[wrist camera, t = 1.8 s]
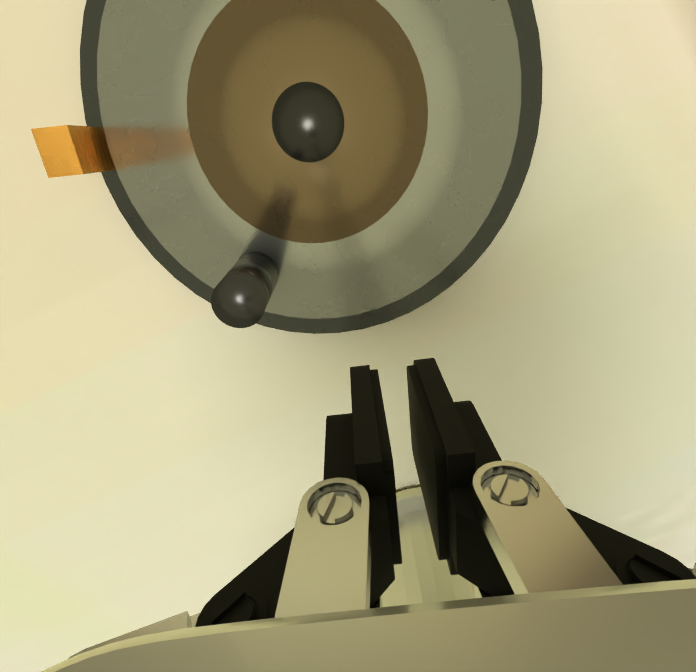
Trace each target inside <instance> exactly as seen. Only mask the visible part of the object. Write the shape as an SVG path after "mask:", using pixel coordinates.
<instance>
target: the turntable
mask: <svg viewBox="0 0 696 672" xmlns="http://www.w3.org/2000/svg"><path fill="white" fill-rule="evenodd" d="M97 89H98V97H99V105H100V113H101V120H102V124H103V128H104V132H105V136H106V141H107V145H108V149H109V151H110V154H111V157H112V160H113V162H114V165H115V168H116V171H117V173H118V176H119V178H120V180H121V182H122V184H123V186H124V188H125V190H126V192H127V195H128V197H129V199H130V201H131V203H132V204H133V206H134V207H135V209H136V210H137V212H138V214H139V215H140V217H141V218H142V220H143V221H144V223H145V224H146V226H147V227H148V229H149V230H150V231H151V232H152V233H153V235H154V236H155V237H156V238H157V240H158V241H159V242H160V243H161V245H162V246H163V247H164V248H165V249H166V250H167V251H168V252H169V253H170V254H171V255H172V256H173V257H174V258H175V259H176V260H177V261H178V262H179V263H180V264H181V265H182V266H183V267H185V268H186V269H187V270H188V271H190V272H191V273H192V274H193V275H195V276H196V277H197V278H198V279H200V280H201V281H202V282H204V283H205V284H207V285H209V286H210V287H212V288H214V290H213V292H212V296H211V305H212V309H213V311H214V313H215V315H216V316H217V317H218V318H219V319H220V320H221V321H222V322H223V323H225V324H227V325H229V326H232V327H236V328H246V327H250V326H252V325H254V324H255V323H257V322H258V321H259V320H260V319H261V317H262V316H263V314H264V311H265V312H269V313H274V314H278V315H283V316H288V317H297V318H309V319H320V318H338V317H344V316H350V315H357V314H361V313H364V312H367V311H371V310H374V309H378V308H381V307H383V306H385V305H388V304H390V303H392V302H395V301H397V300H400V299H402V298H403V297H405V296H407V295H409V294H410V293H412V292H414V291H415V290H417V289H419V288H421V287H422V286H423V285H425V284H426V283H427V282H429V281H430V280H431V279H433V278H434V277H435V276H437V275H438V274H439V273H441V272H442V271H443V270H444V269H445V268H446V267H447V266H448V265H449V264H450V263H451V262H452V261H453V260H454V259H455V258H456V257H457V256H458V255H459V254H460V253H461V252H462V251H463V249H464V248H465V247H466V246H467V245H468V243H469V242H470V241H471V240H472V238H473V237H474V236H475V235H476V233H477V231H478V230H479V228H480V227H481V225H482V224H483V222H484V221H485V219H486V218H487V216H488V214H489V213H490V211H491V209H492V207H493V205H494V203H495V201H496V199H497V197H498V194H499V192H500V190H501V188H502V185H503V183H504V180H505V177H506V174H507V171H508V169H509V166H510V163H511V159H512V155H513V151H514V147H515V142H516V138H517V134H518V125H519V117H520V108H521V66H520V57H519V49H518V40H517V36H516V31H515V27H514V23H513V19H512V15H511V11H510V7H509V4H508V1H507V0H106V3H105V7H104V11H103V15H102V19H101V26H100V34H99V43H98V51H97Z"/></svg>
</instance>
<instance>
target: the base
mask: <svg viewBox="0 0 696 672" xmlns="http://www.w3.org/2000/svg"><path fill="white" fill-rule="evenodd" d="M507 1H508V4H509V7H510V11H511V15H512V19H513V23H514V27H515V31H516V36H517V40H518V49H519V57H520V66H521V108H520V117H519V125H518V134H517V138H516V142H515V147H514V151H513V155H512V159H511V163H510V166H509V169H508V171H507V174H506V177H505V180H504V183H503V185H502V188H501V190H500V192H499V194H498V197H497V199H496V201H495V203H494V205H493V207H492V209H491V211H490V213H489V214H488V216H487V218H486V219H485V221H484V222H483V224H482V225H481V227H480V228H479V230H478V231H477V233H476V235H475V236H474V237H473V238H472V240H471V241H470V242H469V243H468V245H467V246H466V247H465V248H464V249H463V251H462V252H461V253H460V254H459V255H458V256H457V257H456V258H455V259H454V260H453V261H452V262H451V263H450V264H449V265H448V266H447V267H446V268H445V269H444V270H443V271H442V272H441V273H439V274H438V275H437V276H435V277H434V278H433V279H431V280H430V281H429V282H427V283H426V284H425V285H423V286H422V287H421V288H419V289H417V290H415V291H414V292H412V293H410V294H409V295H407V296H405V297H403V298H402V299H400V300H397V301H395V302H392V303H390V304H388V305H385V306H383V307H381V308H378V309H374V310H371V311H367V312H364V313H361V314H357V315H350V316H344V317H338V318H320V319H309V318H297V317H288V316H283V315H278V314H274V313H269V312H265V311H264V314H263V316H262V317H261V319H260V320H259V321H258V322H257V324H260V325H263V326H266V327H271V328H275V329H280V330H285V331H290V332H302V333H314V334H315V333H340V332H346V331H352V330H359V329H364V328H368V327H371V326H375V325H378V324H382V323H385V322H388V321H390V320H393V319H395V318H397V317H400V316H402V315H405V314H407V313H409V312H411V311H413V310H415V309H416V308H418V307H420V306H422V305H423V304H425V303H427V302H429V301H430V300H432V299H433V298H435V297H436V296H437V295H439V294H440V293H441V292H443V291H444V290H446V289H447V288H448V287H450V286H451V285H452V284H453V283H454V282H455V281H457V280H458V279H459V278H460V277H461V276H462V275H463V274H464V273H465V272H466V271H467V270H468V269H469V268H470V267H471V266H472V265H473V264H474V263H475V262H476V261H477V259H478V258H479V257H480V256H481V255H482V253H483V252H484V251H485V250H486V249H487V248H488V246H489V245H490V244H491V242H492V241H493V239H494V238H495V236H496V235H497V233H498V232H499V230H500V229H501V227H502V226H503V224H504V223H505V221H506V219H507V217H508V215H509V213H510V211H511V209H512V207H513V205H514V203H515V201H516V199H517V198H518V196H519V193H520V190H521V188H522V185H523V182H524V180H525V177H526V174H527V172H528V169H529V166H530V162H531V158H532V154H533V150H534V146H535V143H536V139H537V134H538V126H539V119H540V111H541V104H542V60H541V50H540V40H539V32H538V27H537V23H536V18H535V13H534V9H533V4H532V0H507ZM105 3H106V0H87V2H86V6H85V10H84V16H83V26H82V35H81V45H80V74H81V91H82V98H83V105H84V113H85V120H86V124H87V126H72V125H64V126H55V127H46V128H37V129H31V131H32V133H33V136H34V139H35V142H36V144H37V147H38V150H39V153H40V155H41V158H42V161H43V164H44V166H45V169H46V172H47V175H48V177H49V178H50V177H60V176H69V175H78V174H87V173H95V172H102V175H103V178H104V180H105V183H106V185H107V187H108V189H109V191H110V193H111V195H112V197H113V199H114V201H115V202H116V204H117V206H118V208H119V210H120V212H121V213H122V215H123V216H124V218H125V219H126V221H127V222H128V224H129V226H130V227H131V229H132V230H133V232H134V233H135V235H136V236H137V237H138V238H139V240H140V241H141V242H142V243H143V244H144V246H145V247H146V248H147V249H148V251H149V252H150V253H151V254H152V255H153V257H154V258H155V259H156V260H157V261H158V262H159V263H160V264H161V265H162V266H163V267H164V268H165V269H167V270H168V271H169V272H170V273H171V274H172V275H173V276H174V277H175V278H176V279H177V280H179V281H180V282H181V283H182V284H184V285H185V286H186V287H188V288H189V289H190V290H192V291H193V292H194V293H195V294H197V295H198V296H200V297H202V298H203V299H205V300H207V301H208V302H210V303H211V296H212V292H213V290H214V288H212V287H210V286H209V285H207V284H205V283H204V282H202V281H201V280H200V279H198V278H197V277H196V276H195V275H193V274H192V273H191V272H190V271H188V270H187V269H186V268H185V267H183V266H182V265H181V264H180V263H179V262H178V261H177V260H176V259H175V258H174V257H173V256H172V255H171V254H170V253H169V252H168V251H167V250H166V249H165V248H164V247H163V246H162V245H161V243H160V242H159V241H158V240H157V238H156V237H155V236H154V235H153V233H152V232H151V231H150V230H149V229H148V227H147V226H146V224H145V223H144V221H143V220H142V218H141V217H140V215H139V214H138V212H137V210H136V209H135V207H134V206H133V204H132V203H131V201H130V199H129V197H128V195H127V192H126V190H125V188H124V186H123V184H122V182H121V180H120V178H119V176H118V173H117V171H116V168H115V165H114V162H113V160H112V157H111V154H110V151H109V149H108V145H107V141H106V136H105V132H104V128H103V124H102V120H101V113H100V105H99V97H98V89H97V51H98V43H99V34H100V26H101V19H102V15H103V11H104V7H105Z"/></svg>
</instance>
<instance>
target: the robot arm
mask: <svg viewBox="0 0 696 672" xmlns="http://www.w3.org/2000/svg"><path fill="white" fill-rule="evenodd" d="M350 377H351V397H352V413H350V414H341V415H331V416H327V419H326V438H325V461H324V481H321V482H318V483H317V484H315V485H314V486H312V487H311V488H310V489H309V490H308V491H307V492H306V493H305V494H304V495H303V498H302V500H301V503H300V506H299V510H298V515H297V519H296V524H295V527H294V528H293V529H292V530H291V531H290V532H289V533H287V534H286V535H285V536H284V537H283V538H281V539H280V540H279V541H278V542H277V543H276V544H274V545H273V546H272V547H271V548H270V549H268V550H267V551H266V552H265V553H264V554H263V555H261V556H260V557H259V558H258V559H257V560H255V561H254V562H253V563H252V564H251V565H250V566H248V567H247V568H246V569H245V570H244V571H242V572H241V573H240V574H239V575H238V576H237V577H235V578H234V579H233V580H232V581H231V582H229V583H228V584H227V585H226V586H225V587H224V588H222V589H221V590H220V591H219V592H218V593H216V594H215V595H214V596H213V597H212V598H211V599H210V601H209V602H208V603H207V604H206V605H205V606H204V608H203V609H202V611H201V613H198V614H196V615H193V616H190V617H189V614H188V612H187V611H186V612H183V613H181V614H178V615H175V616H173V617H170V618H167V619H165V620H162V621H159V622H156V623H154V624H151V625H148V626H146V627H143V628H140V629H138V630H135V631H132V632H130V633H127V634H124V635H121V636H119V637H116V638H113V639H111V640H108V641H105V642H103V643H100V644H97V645H95V646H92V647H89V648H86V649H84V650H82V651H80V652H79V653H77V654H75V655H73V656H71V657H70V658H68V659H67V660H65V661H63V662H61V663H59V664H57V665H55V666H52V667H50V668H48V669H46V670H44V671H42V672H696V563H695V565H694V568H693V569H690V568H687V567H686V566H684V565H683V564H682V563H681V562H679V561H678V560H677V559H675V558H673V557H671V556H670V555H668V554H666V553H664V552H662V551H660V550H658V549H656V548H654V547H651V546H649V545H647V544H645V543H642V542H640V541H638V540H636V539H634V538H631V537H629V536H627V535H625V534H623V533H620V532H618V531H616V530H614V529H612V528H609V527H607V526H605V525H603V524H601V523H598V522H596V521H594V520H592V519H590V518H587V517H585V516H583V515H581V514H578V513H576V512H574V511H572V510H570V509H567V508H565V507H564V505H563V504H562V503H561V501H560V500H559V499H558V497H557V496H556V495H555V493H554V492H553V491H552V489H551V488H550V487H549V485H548V484H547V483H546V481H545V480H544V479H543V478H542V477H541V476H540V475H539V474H538V473H537V472H536V471H535V470H533V469H531V468H530V467H528V466H526V465H523V464H520V463H517V462H512V461H502V460H501V458H500V456H499V454H498V452H497V450H496V448H495V446H494V444H493V442H492V440H491V439H490V437H489V435H488V433H487V431H486V429H485V427H484V425H483V423H482V421H481V419H480V417H479V415H478V413H477V411H476V409H475V407H474V405H473V404H472V402H471V401H461V402H453V400H452V397H451V395H450V393H449V391H448V388H447V386H446V384H445V382H444V379H443V377H442V375H441V373H440V370H439V368H438V366H437V363H436V361H435V359H434V358H429V359H420V360H414V365H412V366H407V380H408V395H409V410H410V425H411V440H412V450H413V456H414V460H415V465H416V469H417V473H418V477H419V481H420V486H421V487H416V488H410V489H405V490H402V491H399V492H396V488H395V477H394V467H393V459H392V452H391V446H390V440H389V435H388V429H387V423H386V417H385V411H384V405H383V399H382V393H381V387H380V382H379V376H378V370H377V369H376V370H370V367H369V365H366V366H357V367H350Z"/></svg>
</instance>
